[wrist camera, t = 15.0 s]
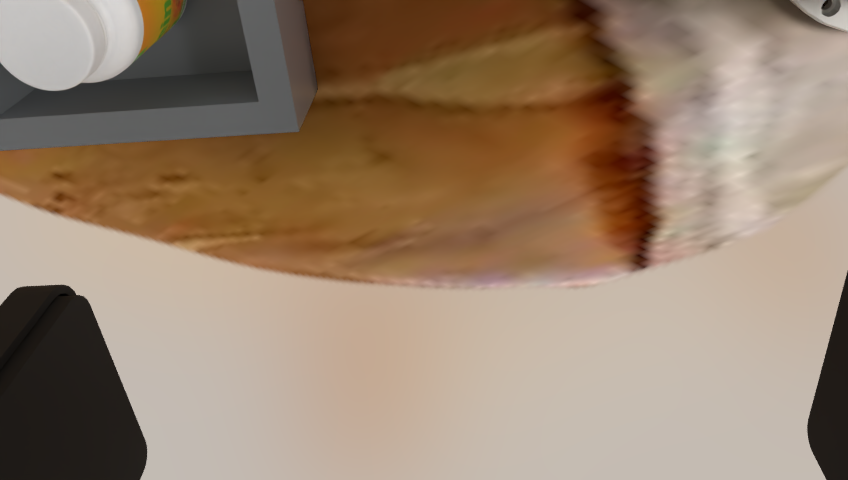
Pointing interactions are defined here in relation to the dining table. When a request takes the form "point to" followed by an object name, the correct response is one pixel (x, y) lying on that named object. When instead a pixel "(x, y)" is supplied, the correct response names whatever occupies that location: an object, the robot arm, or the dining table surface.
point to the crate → (181, 84)
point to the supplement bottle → (79, 38)
